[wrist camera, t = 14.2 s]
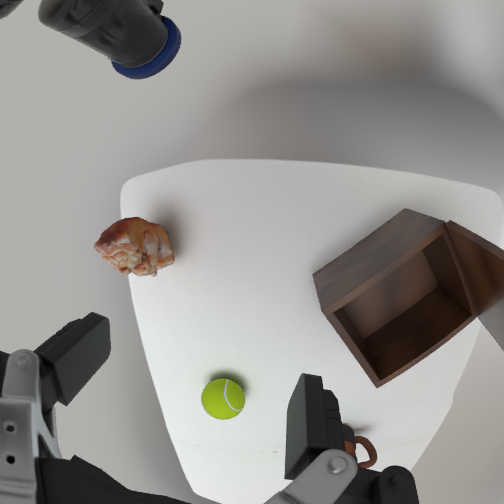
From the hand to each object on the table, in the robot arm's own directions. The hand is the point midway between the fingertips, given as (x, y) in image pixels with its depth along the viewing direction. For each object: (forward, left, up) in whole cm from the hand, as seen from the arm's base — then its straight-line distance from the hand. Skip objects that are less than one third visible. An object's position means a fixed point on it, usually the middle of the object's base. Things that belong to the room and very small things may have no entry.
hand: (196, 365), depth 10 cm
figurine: (+2, -13, -28) cm, 31 cm away
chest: (+5, +18, -28) cm, 33 cm away
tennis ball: (+27, -3, -28) cm, 39 cm away
